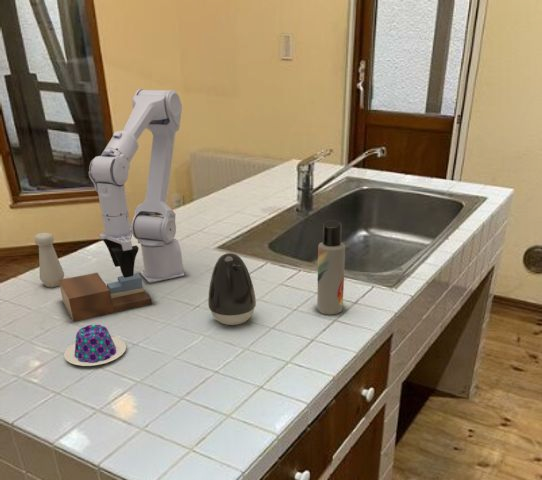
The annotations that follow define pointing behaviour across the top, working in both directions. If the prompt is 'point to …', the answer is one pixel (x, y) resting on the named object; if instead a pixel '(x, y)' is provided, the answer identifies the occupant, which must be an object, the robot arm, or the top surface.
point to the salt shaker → (48, 261)
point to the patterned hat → (94, 347)
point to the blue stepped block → (126, 286)
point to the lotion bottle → (331, 269)
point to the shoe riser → (96, 297)
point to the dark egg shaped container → (231, 291)
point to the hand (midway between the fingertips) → (123, 270)
